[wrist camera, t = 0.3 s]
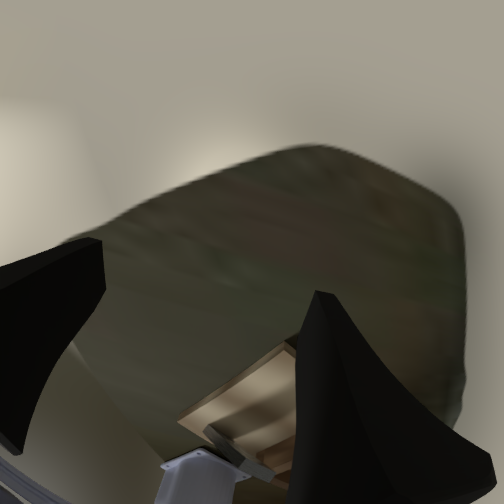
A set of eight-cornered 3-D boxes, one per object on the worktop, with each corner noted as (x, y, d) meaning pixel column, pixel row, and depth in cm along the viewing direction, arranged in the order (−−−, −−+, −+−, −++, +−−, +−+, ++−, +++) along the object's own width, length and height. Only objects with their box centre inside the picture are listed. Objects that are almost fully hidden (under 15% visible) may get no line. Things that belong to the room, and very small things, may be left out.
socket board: (299, 478, 29) (298, 505, 25) (180, 413, 26) (168, 444, 22) (397, 429, 24) (406, 459, 20) (284, 340, 22) (283, 377, 18)
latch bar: (232, 438, 25) (226, 446, 24) (208, 424, 24) (202, 431, 24) (276, 472, 17) (269, 482, 16) (246, 458, 16) (237, 468, 16)
